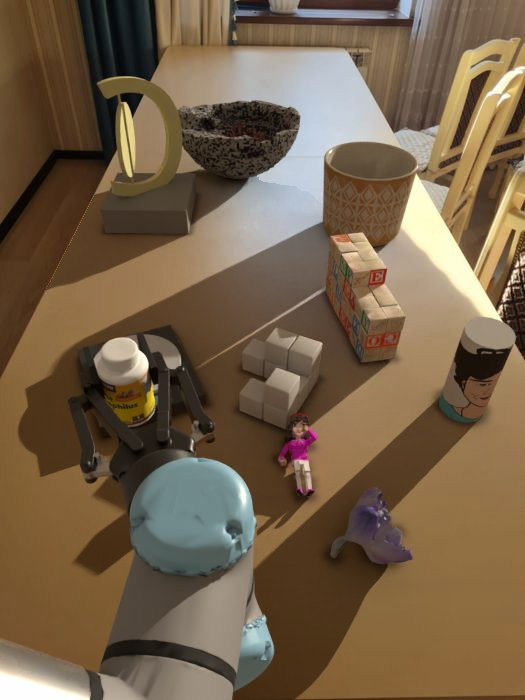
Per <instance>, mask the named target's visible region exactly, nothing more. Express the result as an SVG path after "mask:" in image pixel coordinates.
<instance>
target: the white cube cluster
mask: <svg viewBox="0 0 525 700" xmlns="http://www.w3.org/2000/svg"><path fill="white" fill-rule="evenodd" d="M322 349H323V342H321V341H318V340H316V339H315V340H314V339H312V338H309V337H306V336H303V335H299V334H297V333H294V332H291V331H288V330H285V329H283V328H280V327H275V328H274V329H273V330H272V332H271V333H270V334H269V335H268V337H267V338H266V339H265V340H264V341H263V340H258V339H257V338H252V339H251V341H250V342H249V343H248V344H247V345H246V347H245V348H243V350H242V352H241V359H242V361H241V363H242V364H241V365H242V368H241V369H242V370H244V371H245V372H249V373H252V374H254V375H256V376H260V377H264V378H265V379H266V381H265V382H264V381H261V380H259V379H256V378H253V377H251V378H250V379H249V380H248V382H247V383H246V384H245V386H244V387H243V388H242V390H240V392H239V395H238V396H239V398H238V399H239V411H240V412H242V413H244V414H247V415H249V416H251V417H254V418H256V419H259V420H263V421H264V422H266V423H269V424H271V425H274V426H276V427H278V428H281V429H283V430H287V426H288V424H289V421H290V416H292V415H293V414H297V413H298V412H299V411H300V409H301V407H302V405H303V404H304V402H305V401H306V399H307V397H308V395H309V394H310V393H311V391H312V390H313V388H314V387H315V385H316V383H317V382H318V380H319V374H320V367H321V366H320V365H321V359H322V358H321V356H322Z"/></svg>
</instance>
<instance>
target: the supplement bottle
mask: <svg viewBox="0 0 525 700" xmlns="http://www.w3.org/2000/svg"><path fill="white" fill-rule="evenodd" d="M107 341H108V342H107V343H105V344H104V345H103V346H102V348H101V352H100V353H101V359H100V361H99V362H98V366H97V372H98V376H99V379H100V382H101V386H102V390H103V393H104V397H105V401H106V402H107V404H108V405H109V406H110V407H111V408H112V410H113V411H114V412H115V413H116V415H117V416H118V417H119V418H120V419H121V421H122V422H125V423H126V424H127V425H128V427H134V426H138V425H141V424H143V423H145V422H146V421H148V420H149V419H150V418H151V417H152V415H153V413H154V411H155V399H154V393H153V387H152V381H151V376H150V370H149V364H148V360H147V358H146V356H145V355H144V354H143V353H142V352H141V351H139V350H138V346H137V344H136V343H135V342H134V341H133V340H131V339H128V338H121V337H116V338H115V337H114V338H113V339H110V340H107ZM138 427H139V426H138Z"/></svg>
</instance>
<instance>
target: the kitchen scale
mask: <svg viewBox="0 0 525 700" xmlns="http://www.w3.org/2000/svg"><path fill="white" fill-rule="evenodd" d="M142 332H143V334H144V337H145V339H146V341H147V344H148V346H149V348H150V351H151V353H153V352H157V351H159V352H160V353H161V354H162V356H163V358H164V360H165V363H166V365H167V367H168V368H170V369H176V368H177V367H178V366H185V367H186V369H187V371H188V374H189V376H190V379H191V381H192V384H193V386H194V389H195V391H196V394H197V396H198V399H199V401H200V404H201V406H202V407H204V406H207V404H208V403H207V394H206V392H205V390H204V387H203V386H202V384H201V381H200V380H199V378H198V376H197V374H196V372H195V370H194V368H193V365H192V364H191V362H190V360H189V358H188V356H187V354H186V353H185V352H186V351H185V350H184V348H183V346H182V344H181V342H180V340H179V338H178V336H177V334H176V332H175V330H174V329H173V326H172V324H167V325H162V326H159V327H155V328H151V329H148V330H143V331H142ZM120 338H128V339H131V340H133V341H134V342H135V343H136V344H137V346H138V350H139V345H138V339H137V334H136V333H132V334H129V335H126V336H121V337H120ZM108 341H109V340H105V341H102V342H99V343H93V344H91V345H89V346H90V349H91V352H92V356H93V359H94V362H95V366H96V369H97V366H98V362H99V361H100V359H101V353H100V352H101V348H102V346H103V345H104V344H105V343H107V342H108ZM139 351H140V350H139ZM76 352H77V355H78V358H79V362H80V365H81V368H82V372H84V371H88V370H89V367H88V363H87V360H86V356H85V353H84V349H83V347H80V348H76ZM151 381H152V380H151ZM152 387H153V393H154V399H155V411H154V413H153V415H152V417H151V418H150V419H149V420H148V421H146V422H145V423H143V424H141V425H138V426H134V427H129V428H130V429H131V430H132V429H135V428H139V427H142V426H144V425H149V424H151V423H154V422H157V412H158V384H156V385H153V383H152ZM104 400H105V399H104ZM171 402H172V416H176V415H179V414H182V413H185V412H187V409H186V406H185V404H184V401H183V398H182V396H181V393H180V390H179V388H178V385H172V389H171ZM96 420H97V424H98V427H99V430H100V434H101V437H102V438H103V439H104V438H107V437H111V436H110V434H109V433H108V432H107V431H106V429H105V428H104V427H103V426H102V424H101V423H100V422H99V420H98V419H97V418H96Z"/></svg>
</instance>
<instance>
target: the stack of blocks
mask: <svg viewBox="0 0 525 700" xmlns="http://www.w3.org/2000/svg"><path fill="white" fill-rule="evenodd" d="M387 271H388V267H387V266H386V264H385V263H384V261H383V260H382V259H381V258H380V257H379V255H378V254H377V252H376V250H375V249H374V247H372V246H371V245H370V243H369V242H368V240H367V238H366V237H365V235H364V234H363V233H353V234H347V235H346V234H343V235H335V236H330V235H329V245H328V255H327V270H326V278H325V293H326V295H327V297H328V299H329V302H330V303H331V306H332V308H333V310H334V313H335V314H336V317H337V318H338V319H339V321H340V323H341V325H342V327H343V329H344V330H345V333H346V335H347V336H348V339H349V341H350V343H351V346H352V347H353V350H354V351H355V354H356V355H357V357H358V360H359V361H360V363H369V362H374V361H384V360H391V359H395V358H396V355H397V351H398V345H399V344H400V340H401V336H402V335H401V334H402V331H403V329H404V325H405V321H406V316H407V315H406V313H405V312H404V310H403V309H402V308H401V306H400V304H399V303H398V302H397V300H396V298H395V297H394V295H393V294H392V292H391V291H390V289H389V288H388V286H387V285H386V284H385V282H386V278H387Z"/></svg>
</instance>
